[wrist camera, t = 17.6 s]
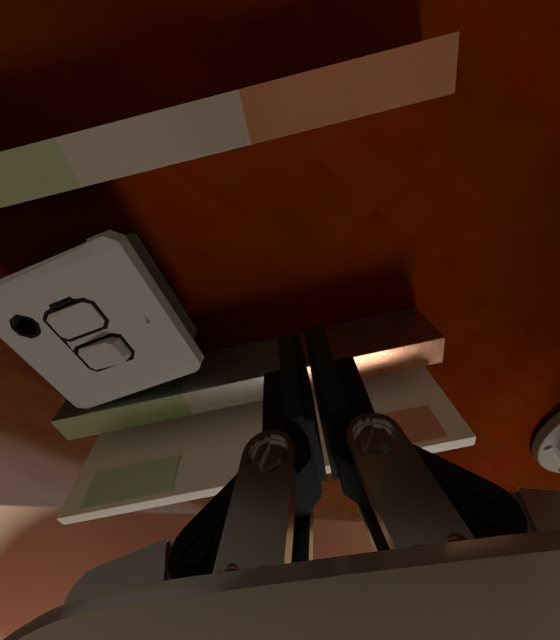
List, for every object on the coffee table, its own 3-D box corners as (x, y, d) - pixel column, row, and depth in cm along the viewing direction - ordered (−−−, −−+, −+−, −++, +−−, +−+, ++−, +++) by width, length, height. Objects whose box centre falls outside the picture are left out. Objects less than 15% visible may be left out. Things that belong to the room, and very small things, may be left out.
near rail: (423, 49, 14) (459, 31, 12) (421, 99, 16) (454, 93, 13) (-75, 179, 16) (-139, 188, 13) (-45, 218, 17) (-99, 233, 14)
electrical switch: (-49, 297, 15) (87, 244, 13) (30, 256, 20) (145, 210, 17) (76, 413, 20) (195, 391, 18) (118, 360, 24) (219, 336, 22)
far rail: (415, 306, 22) (444, 337, 19) (414, 328, 23) (442, 361, 20) (80, 379, 23) (50, 421, 20) (94, 397, 24) (68, 440, 21)
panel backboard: (414, 350, 24) (476, 435, 17) (413, 359, 25) (474, 445, 18) (107, 415, 26) (54, 517, 19) (113, 422, 26) (63, 524, 19)
